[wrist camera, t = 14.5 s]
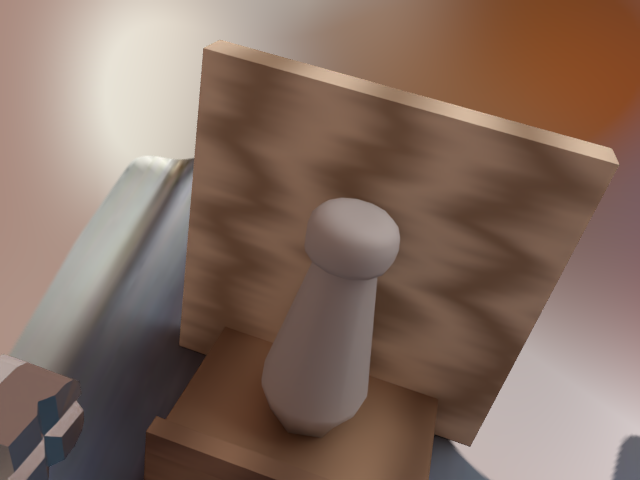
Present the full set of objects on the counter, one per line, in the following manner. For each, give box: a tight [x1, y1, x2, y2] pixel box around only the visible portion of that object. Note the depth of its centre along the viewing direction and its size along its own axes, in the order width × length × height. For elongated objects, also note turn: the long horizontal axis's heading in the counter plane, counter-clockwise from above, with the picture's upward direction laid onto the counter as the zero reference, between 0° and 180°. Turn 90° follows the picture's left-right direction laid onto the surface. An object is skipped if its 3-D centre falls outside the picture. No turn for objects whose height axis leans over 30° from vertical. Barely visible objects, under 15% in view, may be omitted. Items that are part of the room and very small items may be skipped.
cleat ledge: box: [144, 327, 438, 480], centre depth 32 cm, size 14×10×4 cm
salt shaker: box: [262, 198, 400, 438], centre depth 29 cm, size 6×6×13 cm
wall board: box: [179, 40, 619, 447], centre depth 33 cm, size 20×2×20 cm, turn 75°
